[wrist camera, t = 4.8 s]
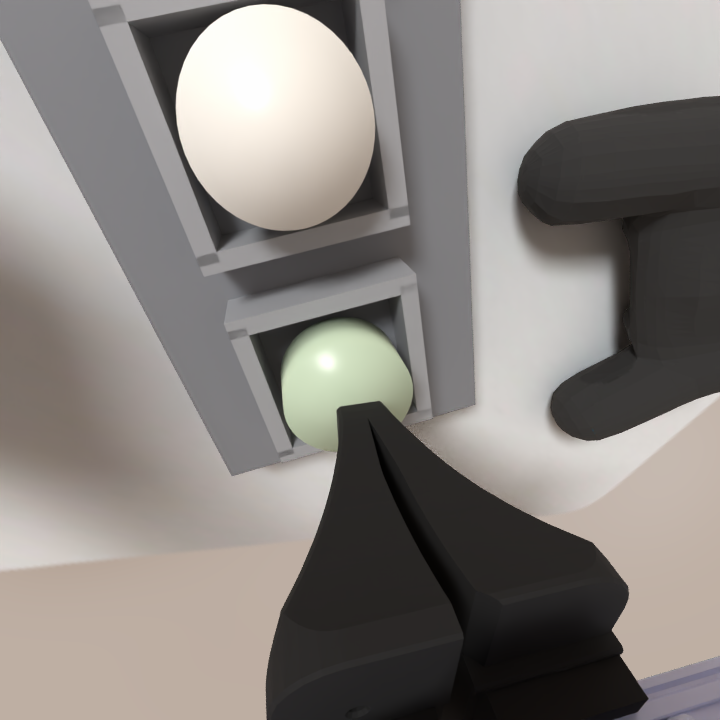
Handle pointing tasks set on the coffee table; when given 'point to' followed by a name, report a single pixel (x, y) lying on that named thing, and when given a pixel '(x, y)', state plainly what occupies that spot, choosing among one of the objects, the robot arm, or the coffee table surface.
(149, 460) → the coffee table surface
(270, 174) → the offwhite button
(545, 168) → the gaming controller
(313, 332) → the sage button
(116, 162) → the button panel
